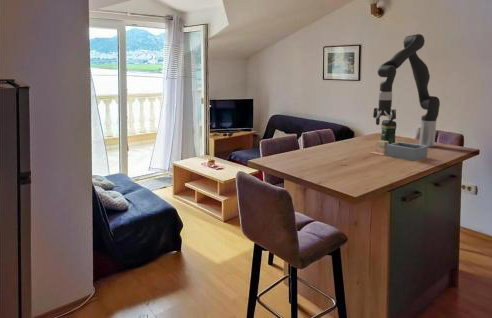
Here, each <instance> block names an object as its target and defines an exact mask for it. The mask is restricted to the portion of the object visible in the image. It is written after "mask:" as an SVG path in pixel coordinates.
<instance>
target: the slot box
mask: <svg viewBox="0 0 492 318" xmlns="http://www.w3.org/2000/svg"><path fill="white" fill-rule="evenodd" d="M428 149H429V147H428V146H424V145H419V143H418V144H417V143H411V142H406V141H405V142H404V141H397V142H395V143H393V144H388V145H387V155H386V157H390V158H395V159H400V160H404V161H405V160H407V161H411V162H416V161H420V160H423V159H427V157H428Z"/></svg>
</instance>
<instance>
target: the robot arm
mask: <svg viewBox="0 0 492 318" xmlns="http://www.w3.org/2000/svg"><path fill="white" fill-rule="evenodd" d="M424 45H425V37H424V35H422V34H418V33H417V34H412V35H406V36H405V37H404V39H403V49H401V50H399V51H398V52H396V53H395V54H394V55H393V56H392V57H391V58H390V59H389V60H387V61H386V62H384V63H382V64H381V65H380V66H379V67H378V69H377V75H378V76H379V77H380V78H386V80H384V81H381V82H380V84H379V95H378V107H374V108H373V113H372V114H373V115H372V117H373V118H374V119H375V124H376V126H379V125H380V122H381V121H380V118H381V117H383V116H384V117H386V118H387V119H388V120H389V126H392V123H393V121H394V120H397V119H396V118H397V109H396V108H395V109H392V107H393V106H392V105H393V103H392V102H393V85H394V82H395V78H396V75H397V70H398V69H399V68H400V67H401V66H402V65H403V64H404V63H405V61H407V60H408V61H409V64H410V67H411V71H412V75H413V78H414V82H415V85H416V89H417V95H418V99H419V106H420V107H421V109H422V110H425V111H426V113H425V114H424V115H422V116H421V122H420V131H419V132H420V133H419V143H418V145H424V146H428V148H430V147H431V148H432V147H435V142H436V140H435V139H436V131H437V130H436V128H437V119H438V117H439V111H440V104H441V102H440V98H439V97H438V96H434V95H433V96H432V95H430V93H429V89H428V86H429V83H430V80H431V79H430V78H431V77H430V76H431V75H430V72H429V68H428V65H427V64H426V63H425V62H424V61H423V60H422V59H421V58H420V56H418V53H417V52H418V51H420V50H421V49H422V48H423V47H424Z"/></svg>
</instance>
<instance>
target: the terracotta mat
mask: <svg viewBox="0 0 492 318" xmlns="http://www.w3.org/2000/svg"><path fill="white" fill-rule="evenodd" d="M369 153H370V154H372V155H376V156H382V157H383V156H387V153H384V154H383V153H377V152H376V151H370V152H369Z"/></svg>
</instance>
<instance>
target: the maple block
mask: <svg viewBox="0 0 492 318" xmlns="http://www.w3.org/2000/svg"><path fill="white" fill-rule="evenodd" d="M388 144H389V141H383V140H381V139H380V140H377V141H376V152H377V153H383V154H384V153H387V145H388Z"/></svg>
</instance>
